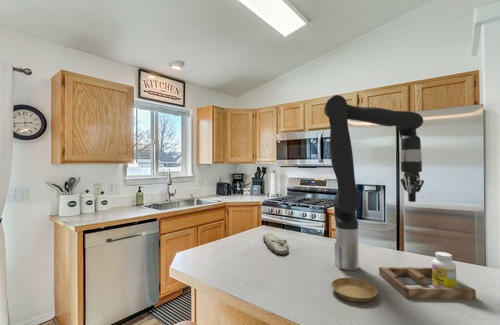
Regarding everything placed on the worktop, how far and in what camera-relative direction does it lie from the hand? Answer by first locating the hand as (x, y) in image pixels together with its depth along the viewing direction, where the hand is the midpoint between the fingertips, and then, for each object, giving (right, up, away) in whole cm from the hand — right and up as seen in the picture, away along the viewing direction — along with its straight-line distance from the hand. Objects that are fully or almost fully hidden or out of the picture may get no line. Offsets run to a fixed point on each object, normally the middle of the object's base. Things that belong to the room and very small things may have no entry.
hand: (412, 201), depth 105 cm
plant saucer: (-33, -29, -19) cm, 48 cm away
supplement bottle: (0, -29, -18) cm, 34 cm away
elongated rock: (-55, -31, +36) cm, 72 cm away
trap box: (-5, -29, -14) cm, 32 cm away
